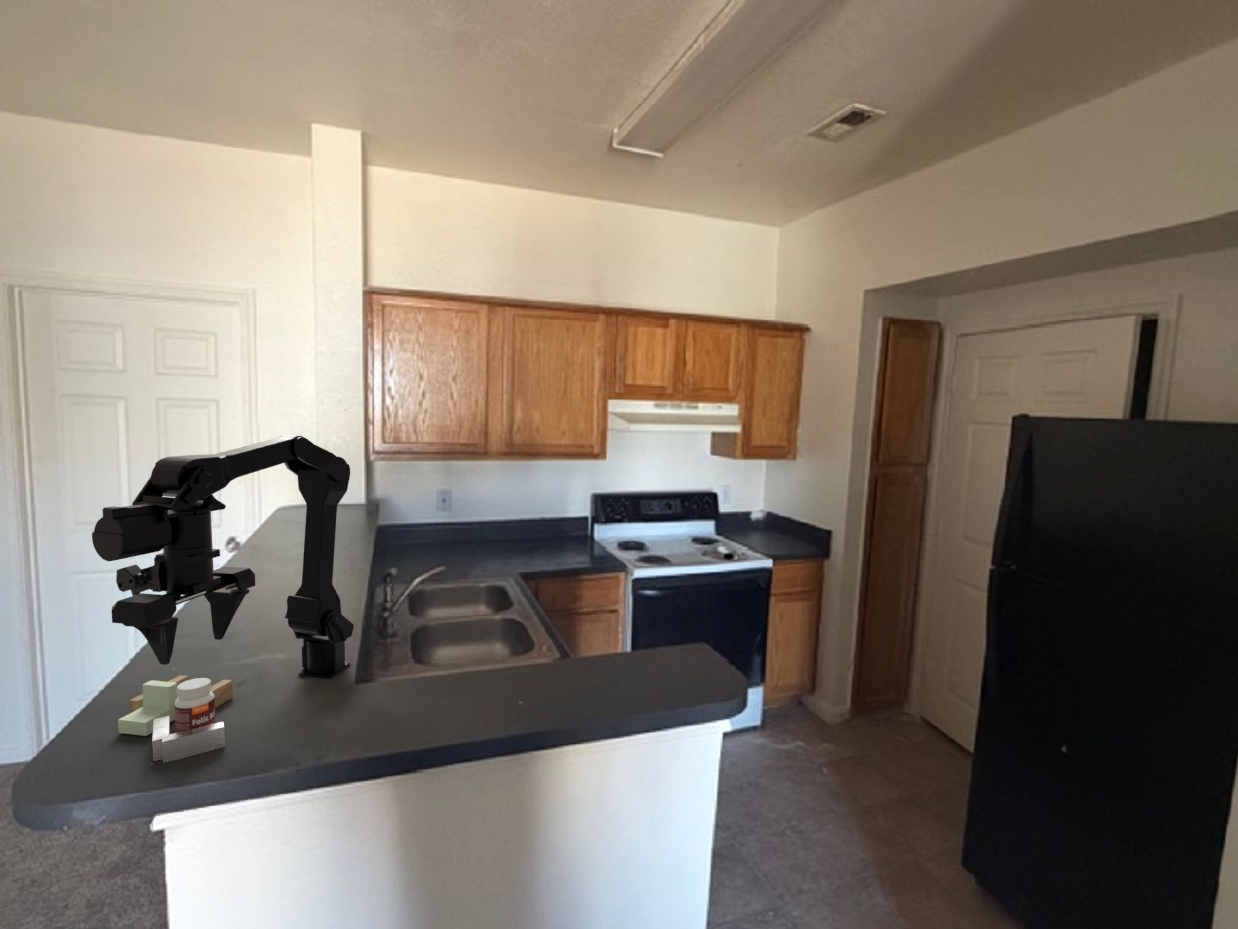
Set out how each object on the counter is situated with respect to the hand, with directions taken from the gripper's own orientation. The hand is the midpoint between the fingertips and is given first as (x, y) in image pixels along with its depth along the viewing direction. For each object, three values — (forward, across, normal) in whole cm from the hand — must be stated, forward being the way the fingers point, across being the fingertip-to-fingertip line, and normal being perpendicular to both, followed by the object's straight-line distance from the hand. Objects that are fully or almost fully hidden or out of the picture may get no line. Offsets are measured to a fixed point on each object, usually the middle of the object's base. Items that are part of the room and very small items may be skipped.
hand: (193, 651), depth 87 cm
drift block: (+12, -1, -9) cm, 15 cm away
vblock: (+13, +4, 0) cm, 13 cm away
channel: (+13, -7, -9) cm, 17 cm away
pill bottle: (+13, +1, +1) cm, 13 cm away
